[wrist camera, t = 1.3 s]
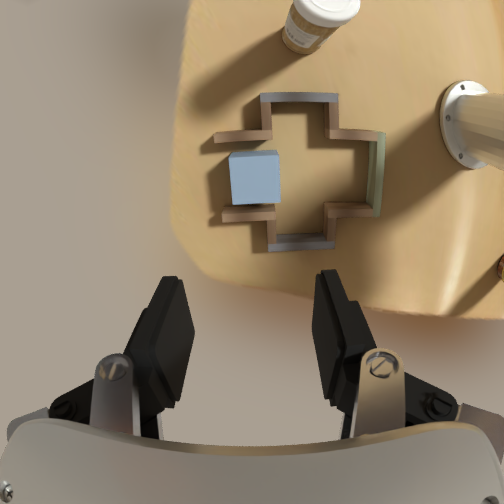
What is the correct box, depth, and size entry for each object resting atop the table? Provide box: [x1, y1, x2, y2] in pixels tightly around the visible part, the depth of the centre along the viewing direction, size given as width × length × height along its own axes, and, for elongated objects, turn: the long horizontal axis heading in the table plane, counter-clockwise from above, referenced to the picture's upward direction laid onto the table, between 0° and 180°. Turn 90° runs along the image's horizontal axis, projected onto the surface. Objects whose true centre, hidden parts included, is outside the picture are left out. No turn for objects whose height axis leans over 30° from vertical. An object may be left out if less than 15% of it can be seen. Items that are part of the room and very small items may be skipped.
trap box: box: [213, 92, 386, 252], centre depth 30 cm, size 18×18×2 cm
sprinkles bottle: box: [282, 0, 360, 54], centre depth 18 cm, size 5×5×13 cm
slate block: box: [229, 150, 281, 205], centre depth 30 cm, size 5×5×4 cm
